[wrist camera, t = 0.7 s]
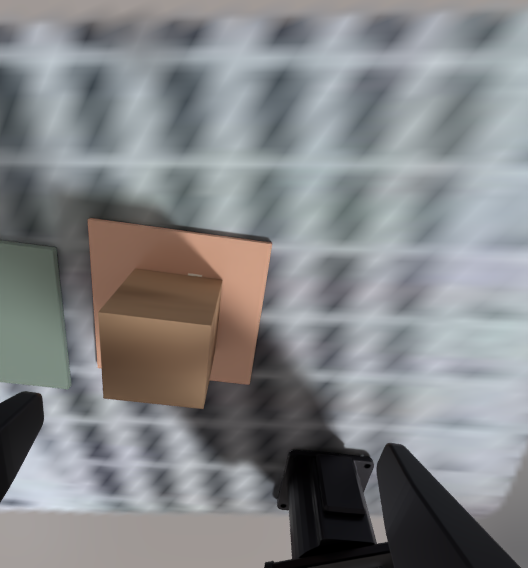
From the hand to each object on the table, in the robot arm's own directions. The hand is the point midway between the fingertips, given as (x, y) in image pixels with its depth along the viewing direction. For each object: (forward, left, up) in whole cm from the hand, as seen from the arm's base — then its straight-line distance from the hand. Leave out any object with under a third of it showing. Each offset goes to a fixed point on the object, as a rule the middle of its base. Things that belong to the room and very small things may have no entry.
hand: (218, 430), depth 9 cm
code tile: (-4, +4, -12) cm, 13 cm away
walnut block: (-4, +4, -12) cm, 13 cm away
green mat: (-6, +16, -12) cm, 21 cm away
